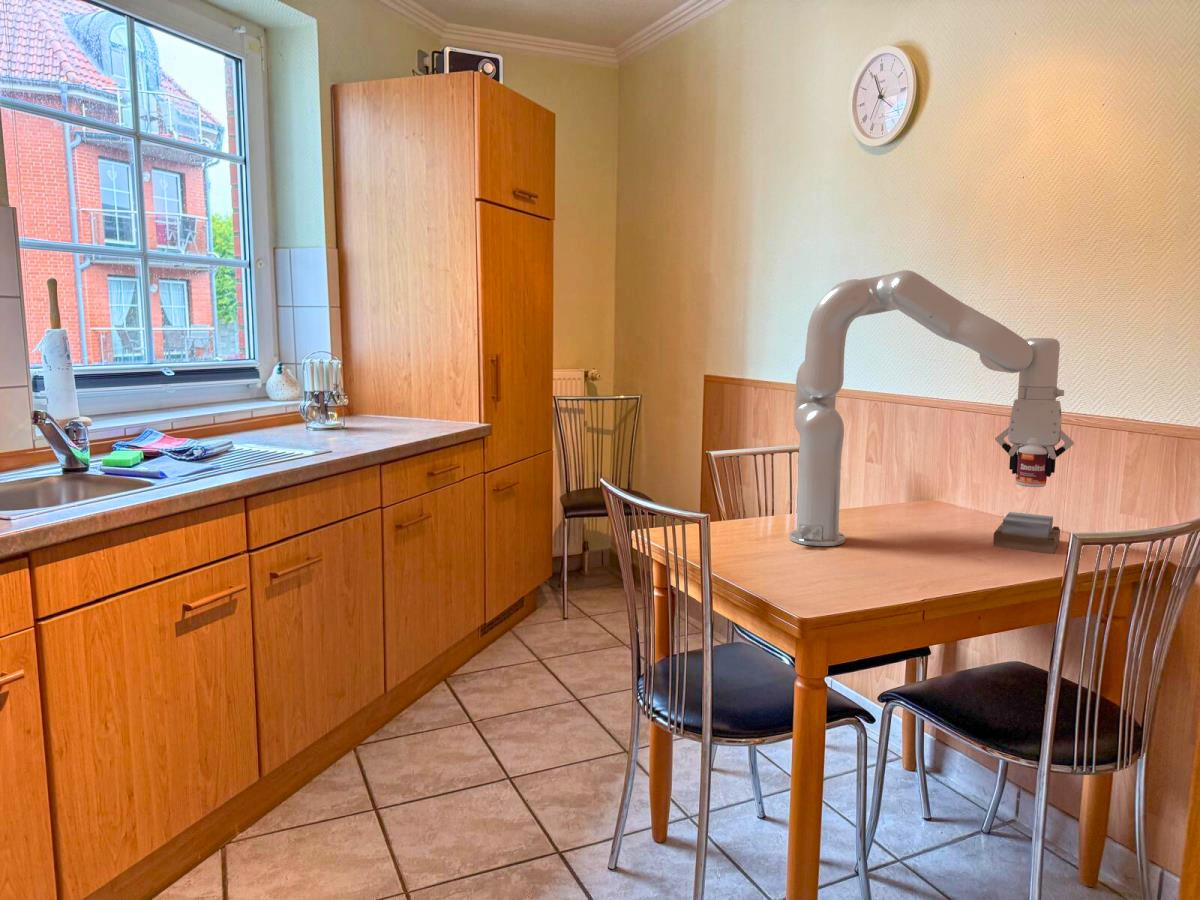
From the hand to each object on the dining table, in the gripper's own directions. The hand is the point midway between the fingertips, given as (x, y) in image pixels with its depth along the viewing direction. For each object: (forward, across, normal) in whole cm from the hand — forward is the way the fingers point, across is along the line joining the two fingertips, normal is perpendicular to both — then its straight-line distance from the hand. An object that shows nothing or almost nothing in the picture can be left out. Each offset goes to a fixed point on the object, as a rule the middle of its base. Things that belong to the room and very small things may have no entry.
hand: (1031, 473), depth 183 cm
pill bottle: (+3, 0, 0) cm, 3 cm away
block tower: (+16, 0, 0) cm, 16 cm away
